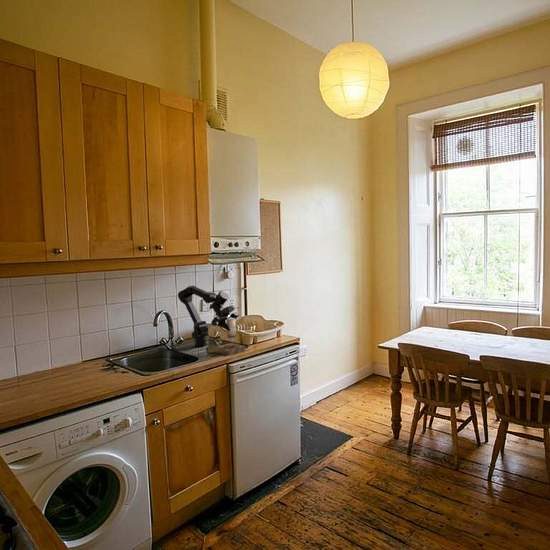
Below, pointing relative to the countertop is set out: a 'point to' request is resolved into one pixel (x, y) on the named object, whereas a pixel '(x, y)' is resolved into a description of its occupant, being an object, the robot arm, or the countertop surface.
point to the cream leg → (231, 328)
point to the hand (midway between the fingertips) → (232, 329)
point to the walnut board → (229, 348)
